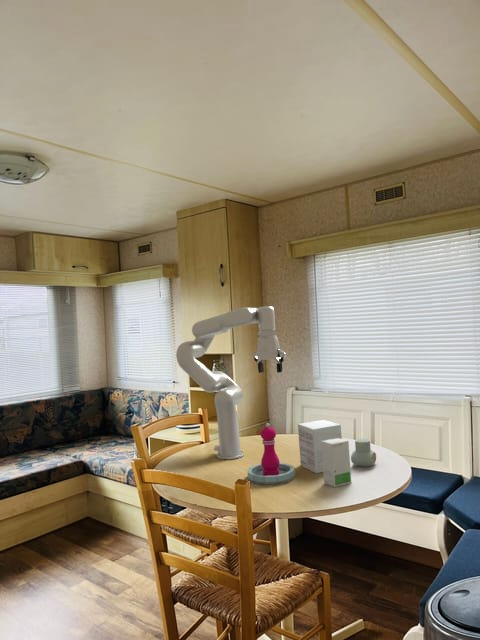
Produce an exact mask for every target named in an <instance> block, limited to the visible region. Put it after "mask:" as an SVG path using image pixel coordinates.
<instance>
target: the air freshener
mask: <svg viewBox="0 0 480 640" xmlns="http://www.w3.org/2000/svg"><path fill="white" fill-rule="evenodd" d="M354 443H355V444H354V447H355V450H353V452H351V455H350V462H351V463H352V464H353V465H354V466H357V467H360V468H368V467H369V466H370V467H372V466H373V465H375V464H376V461H377V453H376V452H375V451H373V450H372V449H371V441H370V440H369V439H367V438H358V439H355V441H354Z"/></svg>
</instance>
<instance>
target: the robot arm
mask: <svg viewBox="0 0 480 640" xmlns="http://www.w3.org/2000/svg"><path fill="white" fill-rule="evenodd" d="M275 318H276V317H275V308H274V307H273V306H259V307H248V306H246V307H241V308H238V309H237V308H236V309H234V310H230V311H226V312H225V313H221V314H218V315H214V316H212V317H209V318H204V319H201V320H199V321H196V322H195V323H194V324H193V325H192V327H191V332H192V335H193V336H194V337H195V338H194V340H189V341H184V342H182V343H180V344H179V345H178V346H177V350H176V353H175V354H176V356H175V357H176V362H177V363H178V366H179V367H180V368H181V369H182V370H183V371H184V372H185V373H186V374H187V375H188V376H189V377H190V378H191V379H192V380H193V381H194V382H195V383H196V384H197V385H198V386H199V387H200V388H202V389H203V390H204V391H205V392H206V393H208V394H209V393H210V394H211V393H215V392H216V393H215V396H214V400H213V401H214V407H215V411H216V419H217V430H218V443H219V445H215V446H214V447H213V451H216V452H217V454H216V457H217V459H219V460H224V459H225V460H226V459H227V460H236V459H237V460H238V459H239V458H243V456H244V455H245V453H244V452H245V451H243V450H241V441H240V428H239V417H238V410H237V409H236V406H238V405H239V404H241V403H242V401H243V400H244V392H243V389H242V388H241V387H240V386H239V385H238V384H237V383H236V382H235V381H234V380H233V379H232V378H231V377H229V375H227V374H226V373H225V372H223V371H220V370H212V371H211V370H210V369H209V368H208V367H207V366H206V365H205V364H204V363H202V362H201V361H199V360H198V359H197V358H201V357H203V356H204V355H205V353H207V351H208V349H209V347H210V346H211V344H212V342H213V340H214V339H215V336H217V335H221V334H224V333H227V332H228V331H229V330H231V329H234V328H237V327H241V326H245V325H253V324H258V331H257V333H256V335H257V336H258V337H257V340H256V351H255V352H253V353H252V354H251V355H252V358H253V360H254V361H255V362H256V364H257V369H258V370H257V371H258V374H260V373H264V372H265V370H264V363H263V361H266V360H267V361H271V360H275V362H276V373H282V372H283V363H284V361H285V360H286V357H287V353H286V352H285V351H283V350H281V347H280V341H279V338H278V337H279V336H277V329H276V319H275Z"/></svg>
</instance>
